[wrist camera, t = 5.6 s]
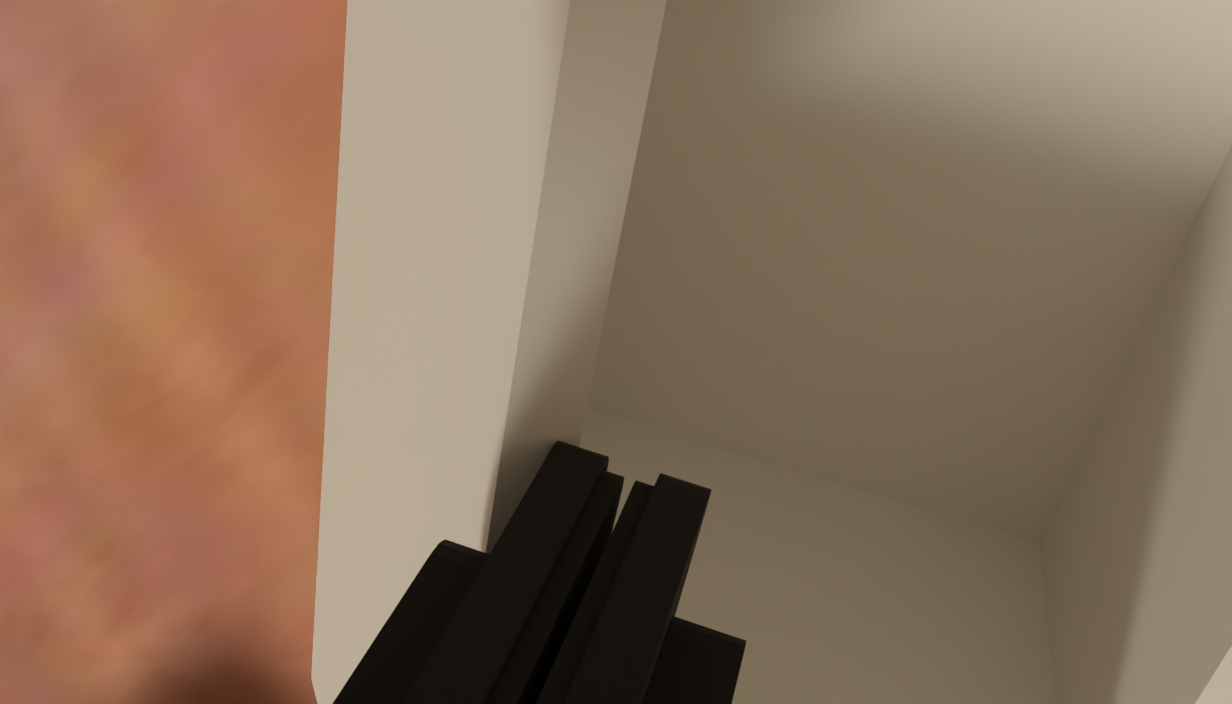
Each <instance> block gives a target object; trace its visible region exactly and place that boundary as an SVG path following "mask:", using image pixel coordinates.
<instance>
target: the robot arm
mask: <svg viewBox="0 0 1232 704" xmlns="http://www.w3.org/2000/svg"><path fill="white" fill-rule="evenodd" d="M608 464H609V458H608V456H605V455H602V454H599V453H596V452H592V451H589V450H586V449H583V448H580V447H577V446H574V445H571V444H568V443H564V442H561V441H557V442H556V443H555V444H554V445H553V447H552V448H551V450H550V452H549V454H548V455H547V457H546V459H545V460H544V462H543V464H542V466H541V467H540V469H539V471H538V472H537V474H536V476H535V478H534V479H533V481H532V483H531V484H530V486H529V488H528V490H527V491H526V493H525V495H524V496H523V498H522V500H521V502H520V503H519V505H518V507H517V508H516V510H515V512H514V514H513V515H512V517H511V519H510V520H509V522H508V524H507V526H506V527H505V529H504V531H503V532H502V534H501V536H500V537H499V539H498V541H497V543H496V544H495V546H494V548H493V549H492V551H491V553H490V554H487V553H484V552H481V551H478V550H475V549H472V548H469V547H466V546H463V545H460V544H457V543H455V542H452V541H449V540H446V539H445V540H443V541H441V542H440V543H439V544H438V545H437V546H436V548H435V549H434V550H433V551H432V553H431V554H430V556H429V557H428V559H427V560H426V562H425V563H424V565H423V566H422V568H421V569H420V571H419V572H418V574H417V575H416V577H415V579H414V580H413V582H412V583H411V585H410V586H409V588H408V589H407V591H406V592H405V594H404V595H403V597H402V598H401V600H400V601H399V603H398V604H397V606H396V608H395V609H394V611H393V612H392V614H391V615H390V617H389V618H388V620H387V621H386V623H385V624H384V626H383V627H382V629H381V630H380V632H379V633H378V635H377V637H376V638H375V640H374V641H373V643H372V644H371V646H370V647H369V649H368V650H367V652H366V653H365V655H364V656H363V658H362V659H361V661H360V662H359V664H358V666H357V667H356V669H355V670H354V672H353V673H352V675H351V676H350V678H349V679H348V681H347V682H346V684H345V685H344V687H343V688H342V690H341V691H340V693H339V694H338V696H337V698H336V699H335V701H334V702H333V704H732V700H733V696H734V692H735V688H736V684H737V680H738V676H739V672H740V667H741V663H742V659H743V655H744V650H745V646H746V640H743V639H740V638H737V637H734V636H731V635H728V634H725V633H722V632H719V631H716V630H713V629H711V628H708V627H705V626H702V625H699V624H696V623H693V622H690V621H687V620H684V619H681V618H678V617H675V614H676V611H677V607H678V604H679V600H680V597H681V594H682V590H683V587H684V583H685V580H686V577H687V573H688V570H689V566H690V563H691V559H692V556H693V553H694V549H695V546H696V542H697V539H698V536H699V532H700V529H701V525H702V522H703V518H704V515H705V512H706V508H707V505H708V501H709V498H710V494H711V490H712V489H709V488H706V487H703V486H700V485H696V484H693V483H690V482H687V481H684V480H681V479H678V478H675V477H671V476H668V475H665V474H662V473H660V475H659V476H658V479H657V481H656V483H655V486H652V485H649V484H646V483H643V482H640V481H637V480H636V481H635V482H634V484H633V486H632V489H631V491H630V493H629V495H628V498H627V500H626V502H625V504H624V507H623V509H622V511H621V513H620V516H619V518H618V520H617V522H616V525H615V527H614V529H613V526H614V521H615V517H616V513H617V509H618V505H619V501H620V497H621V493H622V488H623V484H624V477H623V476H620V475H617V474H614V473H611V472H608V471H607V469H608ZM612 530H613V531H612Z"/></svg>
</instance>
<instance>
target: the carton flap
mask: <svg viewBox="0 0 1232 704" xmlns="http://www.w3.org/2000/svg"><path fill="white" fill-rule="evenodd" d="M666 1H667V0H348V4H347V23H346V42H345V60H344V79H343V97H342V116H341V135H340V153H339V172H338V190H337V209H336V228H335V246H334V265H333V284H332V302H331V321H330V339H329V358H328V377H327V395H326V414H325V433H324V451H323V470H322V488H321V507H320V526H319V544H318V563H317V581H316V600H315V619H314V637H313V656H312V675H311V680H312V684H313V688H314V692H315V696H316V700H317V704H333V702H334V701H335V699H336V698H337V696H338V694H339V693H340V691H341V690H342V688H343V687H344V685H345V684H346V682H347V681H348V679H349V678H350V676H351V675H352V673H353V672H354V670H355V669H356V667H357V666H358V664H359V662H360V661H361V659H362V658H363V656H364V655H365V653H366V652H367V650H368V649H369V647H370V646H371V644H372V643H373V641H374V640H375V638H376V637H377V635H378V633H379V632H380V630H381V629H382V627H383V626H384V624H385V623H386V621H387V620H388V618H389V617H390V615H391V614H392V612H393V611H394V609H395V608H396V606H397V604H398V603H399V601H400V600H401V598H402V597H403V595H404V594H405V592H406V591H407V589H408V588H409V586H410V585H411V583H412V582H413V580H414V579H415V577H416V575H417V574H418V572H419V571H420V569H421V568H422V566H423V565H424V563H425V562H426V560H427V559H428V557H429V556H430V554H431V553H432V551H433V550H434V549H435V548H436V546H437V545H438V544H439V543H440V542H441V541H443V540H445V539H446V540H449V541H452V542H455V543H457V544H460V545H463V546H466V547H469V548H472V549H475V550H478V551H481V552H484V553H487V554H490V553H491V551H492V549H493V548H494V546H495V544H496V543H497V541H498V539H499V537H500V536H501V534H502V532H503V531H504V529H505V527H506V526H507V524H508V522H509V520H510V519H511V517H512V515H513V514H514V512H515V510H516V508H517V507H518V505H519V503H520V502H521V500H522V498H523V496H524V495H525V493H526V491H527V490H528V488H529V486H530V484H531V483H532V481H533V479H534V478H535V476H536V474H537V472H538V471H539V469H540V467H541V466H542V464H543V462H544V460H545V459H546V457H547V455H548V454H549V452H550V450H551V448H552V447H553V445H554V444H555V443H556V442H557V441H561V442H564V443H568V444H571V445H574V446H577V447H579V444H580V439H581V434H582V429H583V424H584V419H585V414H586V409H587V404H588V399H589V393H590V388H591V383H592V378H593V373H594V368H595V363H596V358H597V353H598V348H599V343H600V337H601V332H602V327H603V322H604V317H605V312H606V307H607V302H608V297H609V292H610V287H611V281H612V276H613V271H614V266H615V261H616V256H617V251H618V246H619V241H620V236H621V231H622V225H623V220H624V215H625V210H626V205H627V200H628V195H629V190H630V185H631V180H632V174H633V169H634V164H635V159H636V154H637V149H638V144H639V139H640V134H641V129H642V124H643V118H644V113H645V108H646V103H647V98H648V93H649V88H650V83H651V78H652V73H653V68H654V62H655V57H656V52H657V47H658V42H659V37H660V32H661V27H662V22H663V17H664V12H665V6H666Z"/></svg>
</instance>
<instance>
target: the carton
mask: <svg viewBox="0 0 1232 704" xmlns="http://www.w3.org/2000/svg"><path fill="white" fill-rule="evenodd" d="M579 447H580V448H583V449H586V450H589V451H592V452H596V453H599V454H602V455H605V456H608V458H609V464H608V469H607V471H608V472H611V473H614V474H617V475H620V476H623V477H624V484H623V488H622V493H621V497H620V501H619V505H618V509H617V513H616V517H615V521H614V526H613V529H614V527H615V525H616V522H617V520H618V518H619V516H620V513H621V511H622V509H623V507H624V504H625V502H626V500H627V498H628V495H629V493H630V491H631V489H632V486H633V484H634V482H635V481H636V480H637V481H640V482H643V483H646V484H649V485H652V486H655V483H656V481H657V479H658V476H659V475H660V473H662V474H665V475H668V476H671V477H675V478H678V479H681V480H684V481H687V482H690V483H693V484H696V485H700V486H703V487H706V488H709V489H712V490H711V494H710V498H709V501H708V505H707V508H706V512H705V515H704V518H703V522H702V525H701V529H700V532H699V536H698V539H697V542H696V546H695V549H694V553H693V556H692V559H691V563H690V566H689V570H688V573H687V577H686V580H685V583H684V587H683V590H682V594H681V597H680V600H679V604H678V607H677V611H676V614H675V617H678V618H681V619H684V620H687V621H690V622H693V623H696V624H699V625H702V626H705V627H708V628H711V629H713V630H716V631H719V632H722V633H725V634H728V635H731V636H734V637H737V638H740V639H743V640H746V646H745V650H744V655H743V659H742V663H741V667H740V672H739V676H738V680H737V684H736V688H735V692H734V696H733V700H732V704H1232V0H667V1H666V6H665V12H664V17H663V22H662V27H661V32H660V37H659V42H658V47H657V52H656V57H655V62H654V68H653V73H652V78H651V83H650V88H649V93H648V98H647V103H646V108H645V113H644V118H643V124H642V129H641V134H640V139H639V144H638V149H637V154H636V159H635V164H634V169H633V174H632V180H631V185H630V190H629V195H628V200H627V205H626V210H625V215H624V220H623V225H622V231H621V236H620V241H619V246H618V251H617V256H616V261H615V266H614V271H613V276H612V281H611V287H610V292H609V297H608V302H607V307H606V312H605V317H604V322H603V327H602V332H601V337H600V343H599V348H598V353H597V358H596V363H595V368H594V373H593V378H592V383H591V388H590V393H589V399H588V404H587V409H586V414H585V419H584V424H583V429H582V434H581V439H580V444H579ZM612 531H613V530H612Z"/></svg>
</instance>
